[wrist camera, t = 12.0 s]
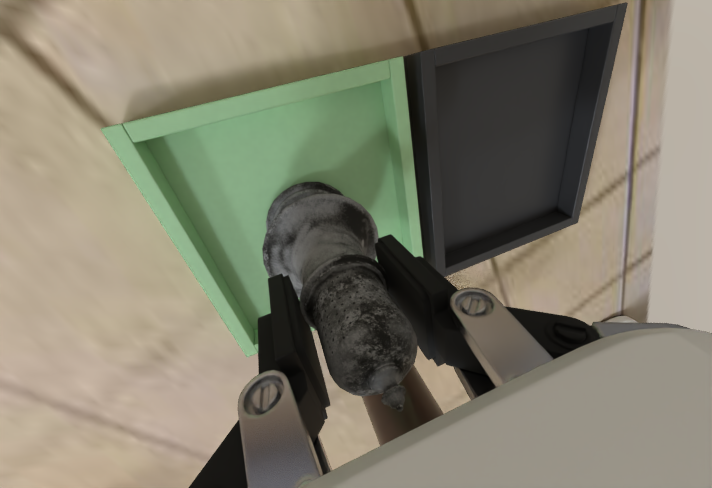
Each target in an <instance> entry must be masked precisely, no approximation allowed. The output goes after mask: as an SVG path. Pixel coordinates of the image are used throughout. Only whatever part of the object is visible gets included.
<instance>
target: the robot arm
mask: <svg viewBox="0 0 712 488" xmlns="http://www.w3.org/2000/svg"><path fill="white" fill-rule="evenodd" d="M375 251H376V255H377V260H378V263H379V264H380V265H381V266H382V267H383V268H384V270H385V272H386V274H387V278H388V283H389V294H390V295H391V296H392V298H393V299H394V301H395V302H396V303H397V305H398V306H399V308H400V309H401V310H402V312H403V313H404V315H405V316H406V317H407V319H408V320H409V322H410V323H411V325H412V327H413V329H414V332H415V334H416V337H417V345H418V346H419V348H420V349H421V351H422V352H423V353H424V355H425V356H426V358H427V359H428V360H430V359H433V360H434V362H435V363H436V364H437V366H440V365H442V364H444V363H446V365H449V366H453V367H454V369H455V372H456V373H457V375H458V377H459V379H460V381H461V383H462V384H463V386H464V388H465V390H466V392H467V394H468V395H469V397H470V399H471V401H469V402H467V403H465V404H463V405H461V406H459V407H457V408H455V409H453V410H451V411H449V412H447V413H445V414H443V415H441V416H439V417H437V418H435V419H433V420H431V421H429V422H427V423H425V424H423V425H421V426H419V427H417V428H415V429H413V430H411V431H409V432H407V433H405V434H403V435H401V436H399V437H397V438H395V439H393V440H392V441H390V442H388V443H386V444H384V445H382V446H380V447H378V448H376V449H374V450H372V451H370V452H368V453H366V454H364V455H362V456H360V457H358V458H356V459H354V460H352V461H350V462H348V463H346V464H344V465H342V466H341V467H339V468H337V469H335V470H333V471H332V468H331V466H330V463H329V460H328V458H327V455H326V452H325V450H324V447H323V444H322V441H321V439H320V436H319V432H320V430H321V428H322V426H323V424H324V422H325V421H324V420H325V419H327V414H326V409H325V408H326V407H328V406H330V401H329V397H328V393H327V389H326V385H325V382H324V378H323V374H322V370H321V366H320V362H319V358H318V355H317V351H316V347H315V343H314V339H313V335H312V331H311V328H310V326H309V325H308V323H307V322H306V321H305V319H304V317H303V314H302V312H301V310H300V301H299V299H298V296H297V294H296V291H295V289H294V287H293V284H292V282H291V280H290V277H289V275H287V276H283V274H282V273H281V274H279V275H276V276H273V277H270V278H268V287H269V298H270V309H271V313H269V314H267V315H264V316H262V317H259V318H258V359H259V375H257V376H256V377H254V378H253V379H252V380H251V381H250V382H249V383H248V384H247V385H246V386H245V388H244V389H243V391H242V392H241V394H240V397H239V400H238V415H239V420H238V422H237V423H236V424H235V426H234V427H233V428H232V430H231V431H230V432H229V434H228V435H227V436H226V438H225V439H224V441H223V442H222V443H221V445H220V446H219V447H218V449H217V450H216V451H215V453H214V454H213V455H212V457H211V458H210V460H209V461H208V462H207V464H206V465H205V466H204V468H203V469H202V470H201V472H200V473H199V474H198V476H197V477H196V479H195V480H194V481H193V483H192V484H191V485H190V487H189V488H712V333H709V332H705V331H700V330H694V329H690V328H687V327H683V326H680V325H676V324H668V323H637V321H635V320H634V319H632V318H630V317H628V316H617V317H614V318H611V319H609V320H607V321H605V322H593V323H592V326H589V325H588V324H586V323H585V322H583V321H580V320H578V319H576V318H572V317H567V316H562V315H555V314H549V313H543V312H536V311H530V310H524V309H517V308H511V307H505V306H504V305H503V304H502V303H501V302H500V301H499V300H498V299H497V298H496V297H495V296H494V295H493V294H491V293H490V292H488V291H486V290H484V289H479V288H464V289H461V290H457V289H456V288H455V287H454V286H453V285H452V284H451V283H450V282H449V281H448V280H447V279H446V278H444V277H443V276H442V275H441V274H440V273H439V272H438V271H437V270H436V269H435V268H434V267H432V266H431V265H430V264H429V263H428V262H427V261H426V260H425V259H424V258H423V257H421V256H418V257H414V256H413V255H412V254H411V253H410V252H409V251H408V250H407V249H406V248H405V247H404V246H403V245H402V244H401V243H400V242H399V241H398V240H397V239H396V238H395V237H394V236H393V235H391V234H389V235H387V236H384V237H381V238H378V242H377V243H375Z"/></svg>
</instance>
